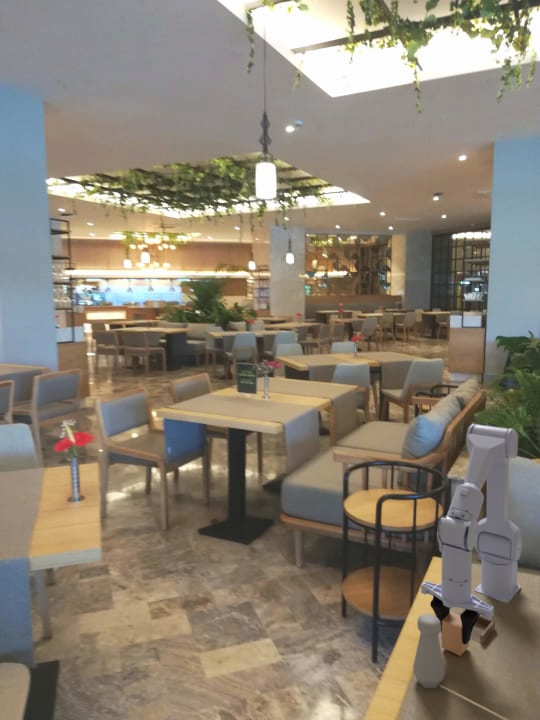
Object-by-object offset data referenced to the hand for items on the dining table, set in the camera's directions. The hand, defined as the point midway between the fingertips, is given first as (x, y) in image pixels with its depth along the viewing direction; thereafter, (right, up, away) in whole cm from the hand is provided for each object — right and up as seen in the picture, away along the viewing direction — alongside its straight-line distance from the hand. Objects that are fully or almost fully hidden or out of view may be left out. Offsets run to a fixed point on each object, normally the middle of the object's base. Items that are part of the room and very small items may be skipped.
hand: (455, 636), depth 110 cm
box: (+6, -2, +7) cm, 9 cm away
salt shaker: (-8, -5, -8) cm, 12 cm away
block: (0, -2, 0) cm, 2 cm away
